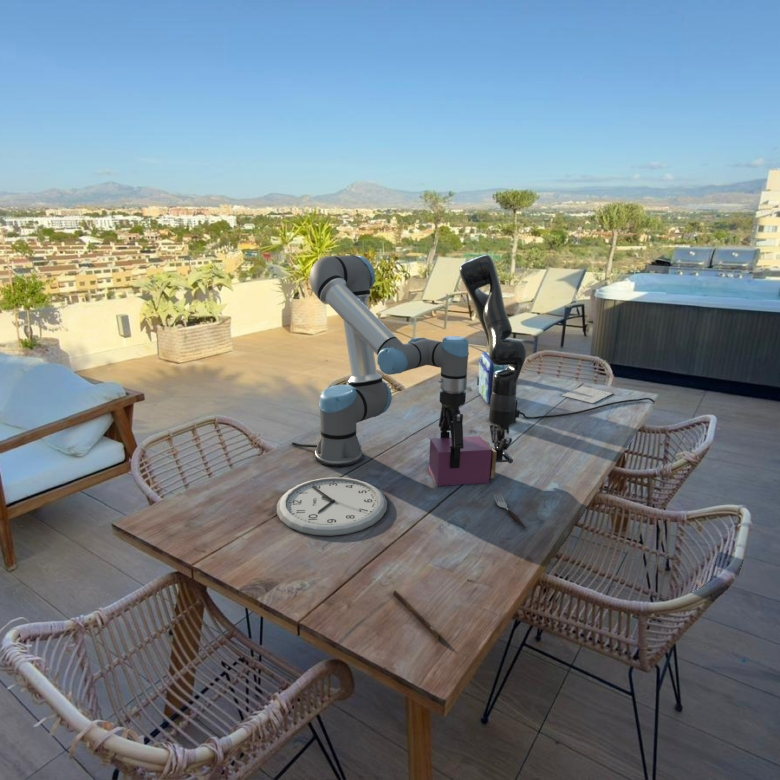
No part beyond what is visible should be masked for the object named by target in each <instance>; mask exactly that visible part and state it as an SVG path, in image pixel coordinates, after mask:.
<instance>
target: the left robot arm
mask: <svg viewBox="0 0 780 780" xmlns="http://www.w3.org/2000/svg"><path fill="white" fill-rule="evenodd" d="M375 280H376V274H375V269H374V267H373V265H372V263H371V262H370V261H369V260H368V259H367V258H366V257H364V256H362V255H354V254H349V255H337V256H336V255H334V256H333V255H328V256H322V257H321V258H319V259H317V261H315V262H314V263H313V264H312V266H311V268H310V271H309V285H310V287H311V290H312V292H313V294H314V295H315V296H316V297H317V299H318V300H319V301H320V302H321V303H322V304H324V305H329V306H330V307H331V308H332V309H333V310H334V311H335V312H336V314H337V315H338V316H339V317H340V318H341V319H342V321H343V322H342V323H343V328H344V334H345V340H346V347H347V354H348V360H349V367H350V377H349V379H348V380H347V384H339V385H337V384H336V385H332V386H329V387H327V388H325V389H324V390H322V391H321V393H320V394H319V402H318V403H319V404H318V405H319V406H318V407H319V422H320V423H319V424H320V425H319V426H320V436H319V438H318V439H319V440H318V443H317V444H307V443H306V444H305V443H304V444H303V443H298V442H293V441H292V442H291V445H293V446H295V447H301V448H316V449H315V451H314V454H315V460H316V462H318V463H319V464H321V465H323V466H329V467H338V468H339V467H347V466H351V465H355V464H356V463H358V462H360V461H361V460H362V457H363V450H362V444H360V441H359V438H358V435H357V423H360V422H363V421H366V420H369V419H371V418H376V417H378V416H380V415H382V414H385V412H387V411H388V409H390V407H391V404H392V400H393V396H392V395H393V394H392V390H391V388H390V386H389V385H388V382H386V381H384V380H383V376H382V375H381V374H380V373H378V371H377V366H376V365H378V368H379V370H380V372H382V373H383V374H385V375H388V376H389V375H390V376H391V375H397V374H402V373H404V372H407V371H410V370H414V369H415V370H416V369H418V368H422V367H425V366H430V367H436V368H440V379H438V383H439V384H440V385H439V386H440V387H439V388H440V390H439V403H440V404H441V408H440V414H439V422H438V427H439V431H440V436H439V438H451V440H452V446H450V449H451V453H450V468H459V465H460V449H463V447H464V446H463V437H464V427H463V426H464V425H463V421H464V414H463V413H461V410H460V407H461V406H463V405H465V403H466V397H467V392H466V390H467V388H468V387H467V385H468V384H467V383H468V363H469V355H470V351H469V340H468V339H467V337H464V336H458V335H457V336H456V335H447V336H444V337H443V338H442V341H439V340H434V339H430V338H425V337H417V336H416V337H412V338H411V339H410V340H409V341H408V342H407V343H403V342H402V341H401V340H400V339H399V338H398V337H397V336H396V335H395V334H394V333H393V332H392V331H391V330H390V329H389V328H388V327H387V326H386V325H385V324H384V323H383V322H382V321H381V319H379V318H378V317H377V316H376V315H375V314H374V313H373V312H372V311H371V310H370V309H369V308H368V299H369V298H370V297H371V290H370V289H372V288H373V286H374V283H375ZM375 354H376V356H377V357H375Z"/></svg>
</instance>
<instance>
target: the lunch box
mask: <svg viewBox="0 0 780 780" xmlns="http://www.w3.org/2000/svg"><path fill="white" fill-rule="evenodd" d="M507 366H508V365H495V364H494V363H492V361H491V360H490V358H489V351H482V352H481V354H480V358H479V360H478V377H477V381H476V384H477V385H476V386H478V393H479V395H480V396H481V397H482V399H483V400H484V402H485V404H487V405H488V406H490V400H491V395H492V385H493V374H494V372H495V371H497V370H502V369H506V368H507Z"/></svg>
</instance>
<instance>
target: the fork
mask: <svg viewBox="0 0 780 780" xmlns="http://www.w3.org/2000/svg"><path fill="white" fill-rule="evenodd" d="M497 494H498V495H497ZM493 497H494V499H495V503H496V505H497V506H498V507H499V508H502V509H505V510H507V512H508V514H509V515H510V517H511V518H513V519H514V521H516V522H517V523H518V524H519V525H521V526H522V527H523V528H524V529H526V525H524V523H523V522H522V521H521V520H520V518H519V517H518V516H517V515H516V514H515V513H514V512H513V511H511V509H509V508H508V504H507V502H506V501H505V499H504V497H503V495H502V493H499V492H498V493H495V494H493Z"/></svg>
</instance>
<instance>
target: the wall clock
mask: <svg viewBox="0 0 780 780" xmlns="http://www.w3.org/2000/svg"><path fill="white" fill-rule="evenodd" d="M387 509H388V500H387V498H386V496H385V494H384V493H383V492H382V491H381V490H380V489H379V488H377V487H376V486H374V485H372V484H371V483H369V482H365V481H362V480H359V479H355V478H349V477H338V476H337V477H335V476H333V477H332V476H331V477H322V478H317V479H312V480H307V481H305V482H302V483H299V484H297V485H295V486H293V487H292V488H290V489H288V490H287V491H286V492H285V493H284V494H283V495H281V496H280V498H279V499H278V502H277V503H276V515H277V517H278V518H279V520H280V521H281V522H282V523H283V524H285V525H286V526H287V527H288V528H290V529H293V530H295V531H297V532H299V533H303V534H308V535H312V536H327V537H328V536H329V537H331V536H332V537H333V536H342V535H350V534H352V533H356V532H361V531H363V530H366V529H368V528H369V527H372V526H373V525H375V524H376V523H378V522H379V521H380V520H381V519H382V518H383V517H384V516H385V514H386V512H387Z"/></svg>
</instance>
